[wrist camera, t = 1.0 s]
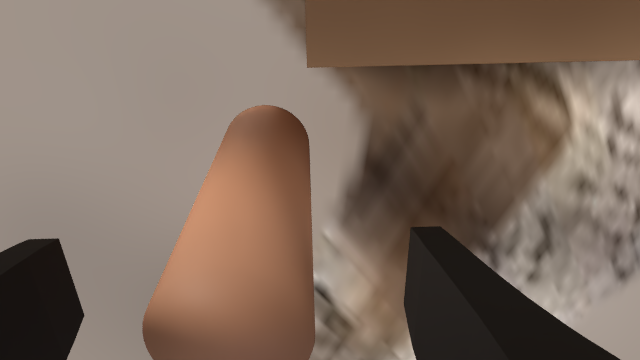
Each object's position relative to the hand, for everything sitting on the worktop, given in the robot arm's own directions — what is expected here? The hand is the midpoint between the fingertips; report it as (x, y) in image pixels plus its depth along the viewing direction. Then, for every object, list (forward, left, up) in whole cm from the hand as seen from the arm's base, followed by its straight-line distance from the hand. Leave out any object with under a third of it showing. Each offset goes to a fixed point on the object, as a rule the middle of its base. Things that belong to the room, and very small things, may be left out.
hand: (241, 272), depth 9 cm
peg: (0, 0, -7) cm, 7 cm away
